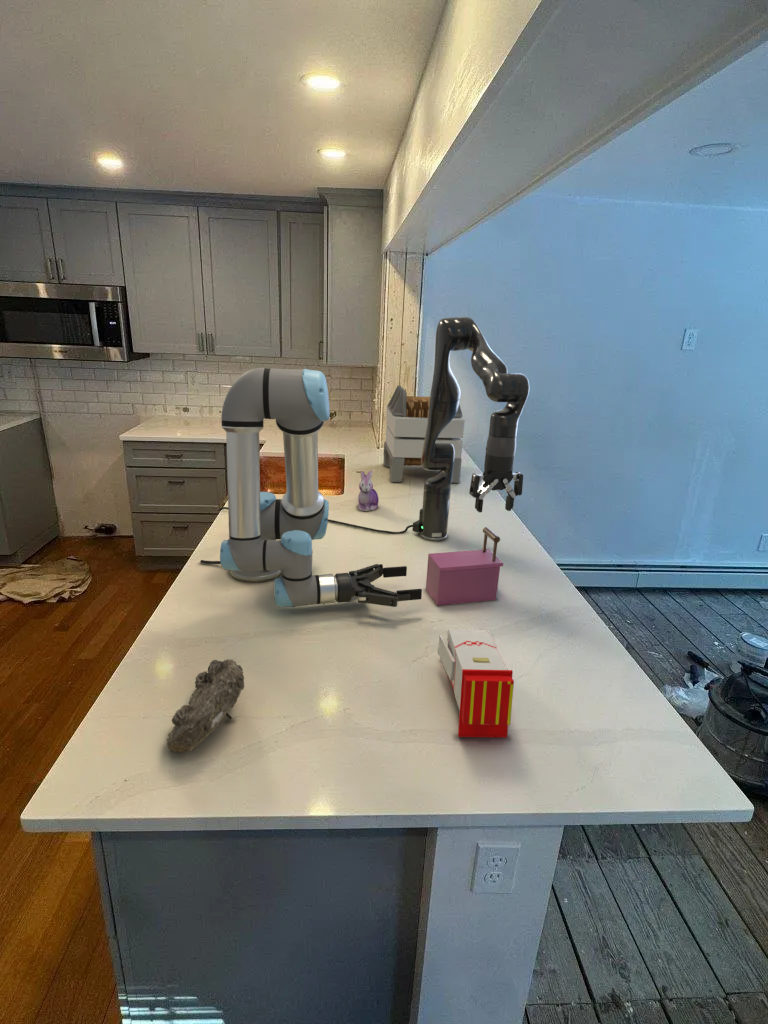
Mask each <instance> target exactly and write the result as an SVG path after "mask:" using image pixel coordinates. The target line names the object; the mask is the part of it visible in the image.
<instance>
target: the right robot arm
mask: <svg viewBox="0 0 768 1024" xmlns="http://www.w3.org/2000/svg"><path fill="white" fill-rule="evenodd" d="M467 350H469V351H471V352H472V353H471V356H470V364H471V365H470V366H471V368H472V370H473V372H474V373H475V375H477V377H478V378H479V379H480V380H481V381H482V384H483V387H484V389H485V393H486V397H487V398H488V399H490V401H492V402H494V403H506V404H505V406H504V407H503V408H502V409H498V410H496V411H493V412H492V413H491V414H490V419H489V429H488V434H487V435H488V436H487V441H486V447H485V456H484V464H483V466H484V468H483V469H484V471H483V473H482V474H477V473H475V472H473V473H472V474H471V479H470V485H469V492H468V493H469V495H470V496H472V498H475V500H474V501H475V503H474V508H475V511H476V512H478V513H483V508H484V498H485V497H486V495H488V494H489V493H490V492H491V491H505V492H506V494H507V495H506V497H505V506H504V509H505V510H506V511H507V512H511V511H512V510H513V508H514V503H515V498H516V497H518V496H522V494H523V485H524V475H523V473H521V472H519V471H515V472H513V471H514V465H515V458H516V452H517V451H516V449H517V435H518V434H517V433H518V426H519V420H520V417H521V415H522V413H523V410H524V407H525V405H526V402H527V400H528V397H529V394H530V382H529V379H528V377H527V376H526V375H525V374H523V373H508V367H507V365H506V364H505V363H504V361H503V360H502V359H501V358H500V357H499V356H498V355H497V354H496V353H495V352H494V351H493V350H492V349H491V347H490V345H489V344H488V342H487V340H486V338H485V336H484V334H483V333H482V331H481V329H480V327H479V325H478V324H477V322H475V320H474V319H472V318H471V317H468V316H458V317H457V316H455V317H443V318H441V319H440V320H439V322H438V323H437V326H436V331H435V345H434V364H433V374H432V381H431V387H430V395H429V397H430V402H429V412H428V422H427V429H426V434H425V439H424V444H423V449H422V455H421V464H422V466H421V467H422V469H423V470H424V471H432V472H436V471H437V472H439V473H438V474H436V475H435V476H432V477H429V478H427V479H425V480H424V482H423V493H422V496H423V497H422V506H421V508H420V509H419V516H418V520H416V521H414V522H412V524H408V525H407V526H406V527H405V528H404V530H402V531H390V530H381V529H376V528H372V527H366V526H363V525H362V526H361V525H356V524H352V523H348V522H344V521H338V520H333V519H329V518H328V523H334V524H339V525H344V526H348V527H352V528H356V529H363V530H366V531H372V532H375V533H382V534H383V533H384V534H389V535H400V534H405V533H407V531H408V530H409V529H410V528H412V530H411V531H412V532H414V533H417V535H418V536H420V538H421V539H424V540H426V541H432V542H440V541H444V540H446V539H447V538H448V525H449V517H450V516H449V514H450V504H451V494H452V493H451V491H452V484H453V483H452V474H453V467H454V460H455V449H454V446H453V445H452V444H449V443H435V442H436V440H437V438H438V436H439V434H440V433H441V431H442V430H443V429H444V428H445V427H446V426H447V425H448V424H449V423H450V422H451V420H452V419H453V418H454V417H455V415H456V414H457V411H458V407H459V405H460V400H461V393H462V392H461V388H460V385H459V382H458V381H457V379H456V377H455V375H454V374H453V371H452V369H451V364H450V357H451V352H455V351H456V352H457V351H467ZM440 471H441V472H440ZM512 480H513V487H512V485H511V484H510V483H511V481H512ZM482 481H483V482H482ZM481 482H482V484H481V485H480V483H481ZM223 510H228V507H227V506H222V507H220V508H219V509H218V511H219V512H221V511H223Z"/></svg>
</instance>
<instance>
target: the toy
mask: <svg viewBox="0 0 768 1024" xmlns="http://www.w3.org/2000/svg"><path fill="white" fill-rule="evenodd" d="M446 640H447V643H446V641H445V639H444V636H443V635H442V634H439V637H438V646H437V656H438V657H439V659H440V661H441V663H442V666H443V668H444V670H445V672H446V674H447V677H448V679H449V681H450V684H451V687H452V690H453V693H454V697H455V701H456V705H457V708H458V711H459V714H458V715H459V716H458V730H457V731H458V732H457V737H458V738H508V731H509V726H510V725H511V717H512V707H513V697H514V696H513V695H514V684H515V680H514V679H513V673H514V671H513V670H512V669H508V667H507V665H506V662H505V661H504V659H503V658H502V655H501V653H500V651H499V649H498V647H497V643H496V639H495V637H494V635H493V634H491V632H490V631H489V629H467V628H466V629H465V628H463V629H461V628H460V629H459V628H448V630H447V639H446Z"/></svg>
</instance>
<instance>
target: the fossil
mask: <svg viewBox="0 0 768 1024" xmlns="http://www.w3.org/2000/svg"><path fill="white" fill-rule="evenodd" d="M243 670H244V669H243V667H242V665H240V664H237V662H236V661H235V660H234V659H232V658H231V659H227V658H226V659H224V660H223V661H222V660H217V659H212V660H211V661H210V663H209V665H208V666H207V671H201V672H199V673H198V674H197V675H196V676H195V680H194V684H195V685H194V687H195V689H194V690H193V693H192V694H191V697H190V698H189V700H188V704H184V705H182V706H181V707H180V709H177V710H176V711H175V713H174V715H173V716H172V718H171V723H172V724H173V727H172V730H171V731H170V732H168V734H167V738H166V741H167V742H166V745H167V749H168V750H169V751H173V752H174V753H176V754H178V753H182V752H188V751H189V752H192V751H193V750H195V748H196V747H197V746H199V744H200V743H201V742H203V741H204V740H205V739H206V738H207V737H208V736H209V735H210V734H211V733H212V732H214V730H215V729H217V727H218V726H219V724H220V722H221V721H222V720H223V719H224V718H225V716H226V717H227V719H229V720H233V717H232V715H230V714H229V710H230V709H231V708H234V706H235V704H236V703H237V702H238V699H239V697H240V695H241V693H242V691H243V690H245V689H244V688H245V675H244V671H243Z"/></svg>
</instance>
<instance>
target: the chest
mask: <svg viewBox="0 0 768 1024" xmlns="http://www.w3.org/2000/svg"><path fill="white" fill-rule="evenodd" d="M500 572H501V567H490V568H478V569H466V570H454V571H441V572H440V571H439V570H438V568H437V567H436V566H435V565H434V564H433V562H432V561H431V560H430V559H429V557H428V556H427V568H426V581H425V591H426V592H427V593H428V595H429V597H430V598H431V599H432V601H433V602H434V603H435V605H436V606H437V607H439V606H449V605H458V604H466V603H467V604H468V603H477V602H486V601H487V602H489V601H496V600H497V595H498V587H499V580H500Z"/></svg>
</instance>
